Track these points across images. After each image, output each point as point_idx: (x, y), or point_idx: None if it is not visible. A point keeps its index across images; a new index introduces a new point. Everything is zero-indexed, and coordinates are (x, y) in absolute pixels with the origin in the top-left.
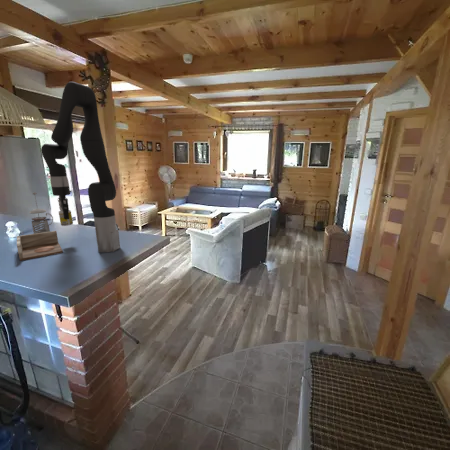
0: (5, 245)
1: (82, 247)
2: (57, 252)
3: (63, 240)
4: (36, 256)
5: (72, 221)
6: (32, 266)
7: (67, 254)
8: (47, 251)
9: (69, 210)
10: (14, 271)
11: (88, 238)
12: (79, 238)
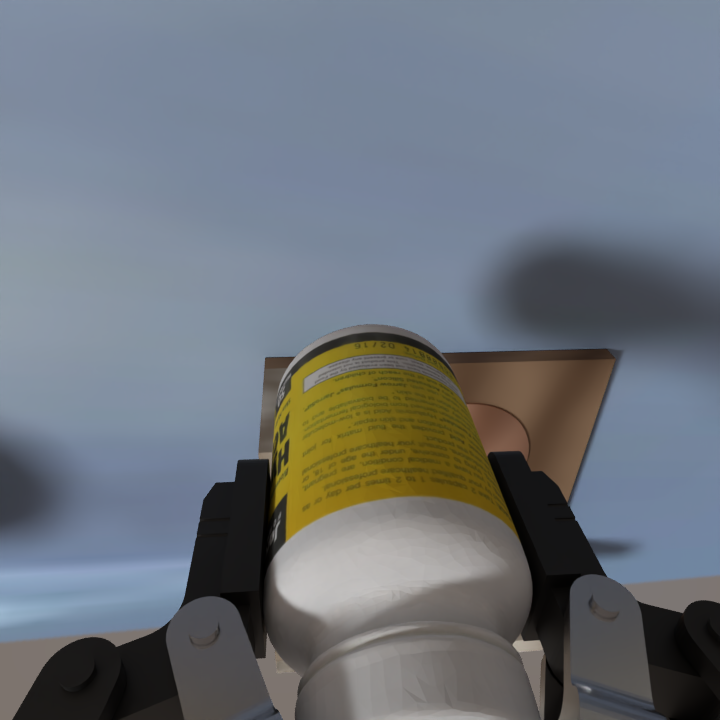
0: (91, 630)
1: (600, 181)
2: (601, 388)
3: (169, 307)
4: (566, 493)
5: (415, 353)
6: (705, 498)
7: (680, 325)
8: (531, 445)
9: (476, 565)
10: (696, 552)
11: (249, 17)
12: (175, 133)
